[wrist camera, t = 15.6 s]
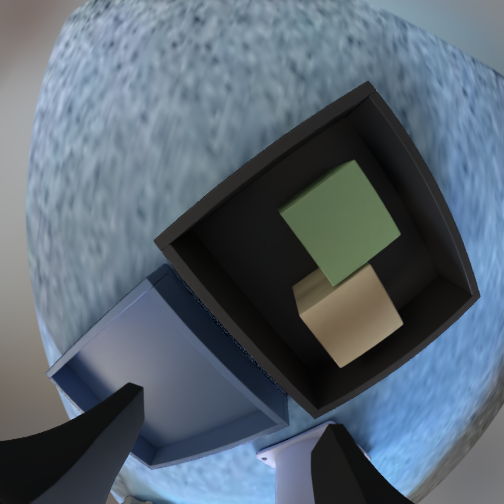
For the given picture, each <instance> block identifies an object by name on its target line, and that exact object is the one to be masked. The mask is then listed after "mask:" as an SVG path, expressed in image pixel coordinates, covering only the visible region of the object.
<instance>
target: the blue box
mask: <svg viewBox="0 0 504 504" xmlns="http://www.w3.org/2000/svg"><path fill="white" fill-rule="evenodd" d="M45 374H46V375H47V376H48V378H50V380H51V381H52V382H53V383H54V384H55V386H56V387H57V388H58V389H59V390H60V391H61V392H62V393H63V394H64V396H65V397H66V398H67V399H68V400H69V401H70V402H71V403H72V404H73V405H74V406H75V407H76V408H77V409H78V410H79V411H80V412H81V413H82V414H83V413H85V412H86V411H88V410H90V409H91V408H93V407H94V406H96V405H97V404H99V403H100V402H102V401H103V400H105V399H106V398H108V397H109V396H110V395H112V394H113V393H115V392H116V391H117V390H119V389H120V388H121V387H123V386H124V385H125V384H126V383H128V382H131V383H133V384H136V385H139V386H142V387H144V413H145V420H144V423H143V426H142V428H141V431H140V433H139V436H138V438H137V440H136V442H135V444H134V446H133V448H132V450H131V451H130V453H129V454H130V455H131V456H133V457H134V458H135V459H137V460H138V461H140V462H141V463H142V464H144V465H145V466H147V467H148V468H150V469H151V470H153V469H158V468H163V467H168V466H172V465H177V464H181V463H185V462H189V461H192V460H196V459H200V458H203V457H207V456H210V455H213V454H216V453H220V452H223V451H226V450H229V449H232V448H234V447H237V446H240V445H243V444H245V443H248V442H251V441H253V440H256V439H258V438H261V437H263V436H266V435H268V434H271V433H273V432H275V431H278V430H280V429H282V428H284V427H287V426H289V413H288V399H287V397H286V396H285V395H284V394H283V393H282V392H281V391H280V390H279V389H278V388H277V387H276V386H275V385H274V384H273V383H272V382H271V381H270V380H269V379H268V378H267V377H266V376H265V375H264V374H263V373H262V372H261V371H260V370H259V369H258V368H257V367H256V366H255V365H254V364H253V363H252V362H251V361H250V360H249V359H248V358H247V357H246V356H245V355H244V354H243V352H242V351H241V350H240V349H239V348H238V347H237V346H236V345H235V344H234V343H233V342H232V341H231V340H230V338H229V337H228V336H227V335H226V334H225V333H224V332H223V331H222V330H221V329H220V327H219V326H218V325H217V324H216V323H215V322H214V321H213V320H212V318H211V317H210V316H209V315H208V314H207V313H206V312H205V310H204V309H203V308H202V307H201V306H200V305H199V303H198V302H197V301H196V300H195V299H194V298H193V296H192V295H191V294H190V293H189V292H188V290H187V289H186V288H185V287H184V286H183V284H182V283H181V282H180V281H179V280H178V278H177V277H176V276H175V275H174V273H173V272H172V271H171V270H170V269H169V267H168V266H167V265H166V264H163V265H162V266H161V267H159V268H158V269H157V270H155V271H154V272H153V273H151V274H150V275H149V276H147V277H146V278H145V279H144V280H143V281H142V282H140V283H139V284H138V285H137V286H136V287H135V288H134V289H133V290H131V291H130V292H129V293H128V294H127V295H126V296H125V297H124V298H123V299H121V300H120V301H119V302H118V303H117V304H116V305H115V306H114V307H113V308H112V309H110V310H109V311H108V312H107V313H106V314H105V315H104V316H103V317H102V318H101V319H100V320H99V321H98V322H97V323H95V324H94V325H93V326H92V327H91V328H90V329H89V330H88V331H87V332H86V333H85V334H84V335H83V336H82V337H81V338H80V339H79V340H78V341H77V342H76V343H75V344H74V345H73V346H72V347H71V348H70V349H68V350H67V351H66V352H65V353H64V354H63V355H62V356H61V357H60V358H59V359H58V360H57V361H56V362H55V363H54V365H53V366H52V367H51V368H50V369H49V370H48V371H47V372H46V373H45Z"/></svg>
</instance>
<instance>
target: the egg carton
mask: <svg viewBox="0 0 504 504" xmlns="http://www.w3.org/2000/svg"><path fill="white" fill-rule="evenodd" d="M121 504H155V503H153V502H151V501H146V502H142V501H139V500H137V499H136V498H134V497H131V496H128V497H126V498H125V500H124V502H123V503H121Z"/></svg>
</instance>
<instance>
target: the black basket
mask: <svg viewBox="0 0 504 504" xmlns="http://www.w3.org/2000/svg"><path fill="white" fill-rule="evenodd" d="M352 160H355V161H356V162H357V164H358V165H359V167H360V168H361V170H362V171H363V173H364V174H365V176H366V177H367V179H368V180H369V182H370V183H371V185H372V186H373V188H374V189H375V191H376V193H377V194H378V196H379V197H380V199H381V201H382V202H383V204H384V205H385V207H386V209H387V210H388V212H389V214H390V215H391V217H392V219H393V221H394V222H395V224H396V226H397V228H398V229H399V231H400V233H401V235H400V236H398V237H397V238H396V239H395V240H394V241H392V242H391V243H390V244H389V245H387V246H386V247H385V248H384V249H382V250H381V251H380V252H379V253H377V254H376V255H375V256H374V257H372V258H371V259H370V260H368V261H367V263H369V264H370V265H371V266H372V268H373V269H374V271H375V273H376V274H377V276H378V278H379V279H380V281H381V283H382V285H383V286H384V288H385V290H386V292H387V294H388V295H389V297H390V299H391V301H392V303H393V304H394V306H395V308H396V310H397V312H398V314H399V316H400V317H401V319H402V321H403V325H402V326H401V327H399V328H398V329H397V330H395V331H394V332H393V333H391V334H390V335H389V336H387V337H386V338H385V339H383V340H382V341H380V342H379V343H378V344H376V345H375V346H373V347H372V348H371V349H369V350H368V351H366V352H365V353H363V354H362V355H360V356H359V357H357V358H356V359H354V360H353V361H351V362H350V363H348V364H347V365H345V366H343V367H342V368H340V367H339V366H338V365H337V363H336V362H335V361H334V360H333V358H332V357H331V356H330V354H329V353H328V352H327V351H326V349H325V348H324V347H323V346H322V344H321V343H320V342H319V340H318V339H317V338H316V337H315V335H314V334H313V333H312V331H311V330H310V329H309V328H308V326H307V325H306V324H305V323H304V321H303V320H302V319H301V317H300V316H299V312H298V308H297V304H296V300H295V296H294V292H293V288H292V287H293V286H294V285H295V284H297V283H298V282H300V281H301V280H302V279H304V278H305V277H307V276H308V275H309V274H311V273H312V272H314V271H315V270H316V269H318V268H319V266H318V265H317V263H316V262H315V261H314V259H313V258H312V256H311V255H310V254H309V252H308V251H307V250H306V248H305V247H304V245H303V244H302V243H301V241H300V240H299V239H298V237H297V236H296V235H295V233H294V232H293V231H292V229H291V228H290V226H289V225H288V224H287V222H286V221H285V220H284V218H283V217H282V216H281V214H280V213H279V211H278V209H277V208H278V207H279V206H280V205H282V204H283V203H284V202H286V201H287V200H288V199H290V198H291V197H292V196H294V195H295V194H297V193H298V192H299V191H301V190H302V189H303V188H305V187H306V186H307V185H309V184H310V183H311V182H313V181H314V180H315V179H317V178H318V177H319V176H321V175H322V174H324V173H325V172H326V171H328V170H329V169H330V168H332V167H334V166H337V165H340V164H343V163H346V162H349V161H352ZM154 243H155V244H156V245H157V247H158V248H159V249H160V250H161V251H162V253H163V254H164V256H165V257H166V258H167V259H168V261H169V262H170V263H171V264H172V266H173V267H174V268H175V269H176V271H177V272H178V273H179V274H180V276H181V277H182V278H183V279H184V280H185V282H186V283H187V284H188V285H189V286H190V288H191V289H192V290H193V291H194V292H195V294H196V295H197V296H198V297H199V298H200V300H201V301H202V302H203V303H204V304H205V305H206V307H207V308H208V309H209V310H210V311H211V312H212V313H213V315H214V316H215V317H216V318H217V319H218V320H219V321H220V323H221V324H222V325H223V326H224V327H225V328H226V329H227V330H228V332H229V333H230V334H231V335H232V336H233V337H234V338H235V339H236V340H237V341H238V342H239V344H240V345H241V346H242V347H243V348H244V349H245V350H246V351H247V352H248V353H249V354H250V355H251V356H252V357H253V359H254V360H255V361H256V362H257V363H258V364H259V365H260V366H261V367H262V368H263V369H264V370H265V371H266V372H267V373H268V374H269V375H270V376H271V377H272V378H273V379H274V380H275V381H276V382H277V383H278V384H279V385H280V386H281V387H282V388H283V389H284V390H285V391H286V392H287V393H288V394H289V395H290V396H291V397H292V398H293V399H294V400H295V401H296V402H297V403H298V404H299V405H300V406H301V407H302V408H303V409H304V410H306V411H307V412H308V413H309V414H310V415H311V416H312V417H313V418H314V419H316V418H318V417H320V416H322V415H323V414H325V413H327V412H329V411H331V410H333V409H335V408H336V407H338V406H340V405H342V404H344V403H345V402H347V401H349V400H350V399H352V398H354V397H356V396H357V395H359V394H360V393H362V392H364V391H365V390H367V389H368V388H370V387H372V386H373V385H375V384H376V383H378V382H379V381H381V380H382V379H384V378H385V377H387V376H388V375H390V374H391V373H392V372H394V371H395V370H397V369H398V368H399V367H401V366H402V365H404V364H405V363H406V362H408V361H409V360H410V359H412V358H413V357H414V356H415V355H417V354H418V353H419V352H421V351H422V350H423V349H424V348H426V347H427V346H428V345H429V344H430V343H432V342H433V341H434V340H435V339H436V338H438V337H439V336H440V335H441V334H442V333H443V332H445V331H446V330H447V329H448V328H449V327H450V326H451V325H452V324H453V323H454V322H456V321H457V320H458V319H459V318H460V317H461V316H462V315H463V314H464V313H465V312H466V311H467V310H468V309H469V308H470V307H471V306H472V305H473V304H474V303H475V302H476V301H477V300H478V299H479V298H480V292H479V290H478V286H477V282H476V279H475V276H474V272H473V269H472V266H471V263H470V260H469V257H468V255H467V252H466V249H465V246H464V244H463V241H462V238H461V236H460V233H459V231H458V228H457V226H456V224H455V221H454V219H453V217H452V214H451V212H450V210H449V208H448V206H447V204H446V201H445V199H444V197H443V195H442V193H441V191H440V189H439V187H438V185H437V183H436V181H435V180H434V178H433V176H432V174H431V172H430V170H429V168H428V167H427V165H426V163H425V161H424V160H423V158H422V156H421V155H420V153H419V151H418V150H417V148H416V146H415V145H414V143H413V142H412V140H411V138H410V137H409V135H408V134H407V132H406V131H405V129H404V128H403V126H402V125H401V123H400V122H399V120H398V119H397V118H396V116H395V115H394V113H393V112H392V111H391V109H390V108H389V106H388V105H387V104H386V102H385V101H384V100H383V98H382V97H381V96H380V95H379V93H378V92H377V91H376V89H375V88H374V87H373V86H372V84H371V83H370V82H369V81H367V82H365V83H363V84H362V85H360V86H358V87H357V88H355V89H353V90H352V91H350V92H349V93H347V94H345V95H344V96H342V97H341V98H339V99H337V100H336V101H334V102H333V103H331V104H330V105H328V106H327V107H325V108H324V109H322V110H320V111H319V112H317V113H316V114H314V115H313V116H311V117H310V118H308V119H307V120H306V121H304V122H303V123H301V124H300V125H298V126H297V127H295V128H294V129H292V130H291V131H290V132H288V133H287V134H285V135H284V136H283V137H281V138H280V139H278V140H277V141H276V142H274V143H273V144H271V145H270V146H269V147H267V148H266V149H265V150H263V151H262V152H261V153H259V154H258V155H257V156H255V157H254V158H253V159H251V160H250V161H249V162H247V163H246V164H245V165H243V166H242V167H241V168H239V169H238V170H237V171H236V172H234V173H233V174H232V175H230V176H229V177H228V178H227V179H225V180H224V181H223V182H222V183H220V184H219V185H218V186H217V187H215V188H214V189H213V190H212V191H210V192H209V193H208V194H207V195H206V196H204V197H203V198H202V199H201V200H200V201H198V202H197V203H196V204H195V205H194V206H192V207H191V208H190V209H189V210H188V211H186V212H185V213H184V214H183V215H182V216H181V217H180V218H178V219H177V220H176V221H175V222H174V223H173V224H171V225H170V226H169V227H168V228H167V229H166V230H165V231H164V232H162V233H161V234H160V235H159V236H158V237H157V238H156V239H155V240H154Z"/></svg>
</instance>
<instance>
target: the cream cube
mask: <svg viewBox="0 0 504 504" xmlns="http://www.w3.org/2000/svg"><path fill="white" fill-rule="evenodd" d="M292 288H293V292H294V296H295V300H296V304H297V308H298V312H299V316H300V317H301V319H302V320H303V321H304V323H305V324H306V325H307V326H308V328H309V329H310V330H311V331H312V333H313V334H314V335H315V337H316V338H317V339H318V340H319V342H320V343H321V344H322V346H323V347H324V348H325V349H326V351H327V352H328V353H329V354H330V356H331V357H332V358H333V360H334V361H335V362H336V363H337V365H338V366H339V367H340V368H342V367H343V366H345V365H347V364H348V363H350V362H351V361H353V360H354V359H356V358H357V357H359V356H360V355H362V354H363V353H365V352H366V351H368V350H369V349H371V348H372V347H373V346H375V345H376V344H378V343H379V342H380V341H382V340H383V339H385V338H386V337H387V336H389V335H390V334H391V333H393V332H394V331H395V330H397V329H398V328H399V327H401V326H402V325H403V321H402V319H401V317H400V316H399V314H398V312H397V310H396V308H395V306H394V304H393V303H392V301H391V299H390V297H389V295H388V294H387V292H386V290H385V288H384V286H383V285H382V283H381V281H380V279H379V278H378V276H377V274H376V273H375V271H374V269H373V268H372V266H371V265H370V264H369V263H367V262H366V263H365V264H363V265H362V266H361V267H359V268H358V269H357V270H355V271H354V272H353V273H351V274H350V275H349V276H347V277H346V278H345V279H343V280H342V281H341V282H339V283H338V284H337V285H335V286H332V285H331V283H330V282H329V280H328V279H327V277H326V276H325V275H324V273H323V272H322V270H321V269H320V268H318V269H316V270H315V271H314V272H312V273H311V274H309V275H308V276H307V277H305V278H304V279H302V280H301V281H300V282H298V283H297V284H295V285H294V286H293V287H292Z"/></svg>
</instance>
